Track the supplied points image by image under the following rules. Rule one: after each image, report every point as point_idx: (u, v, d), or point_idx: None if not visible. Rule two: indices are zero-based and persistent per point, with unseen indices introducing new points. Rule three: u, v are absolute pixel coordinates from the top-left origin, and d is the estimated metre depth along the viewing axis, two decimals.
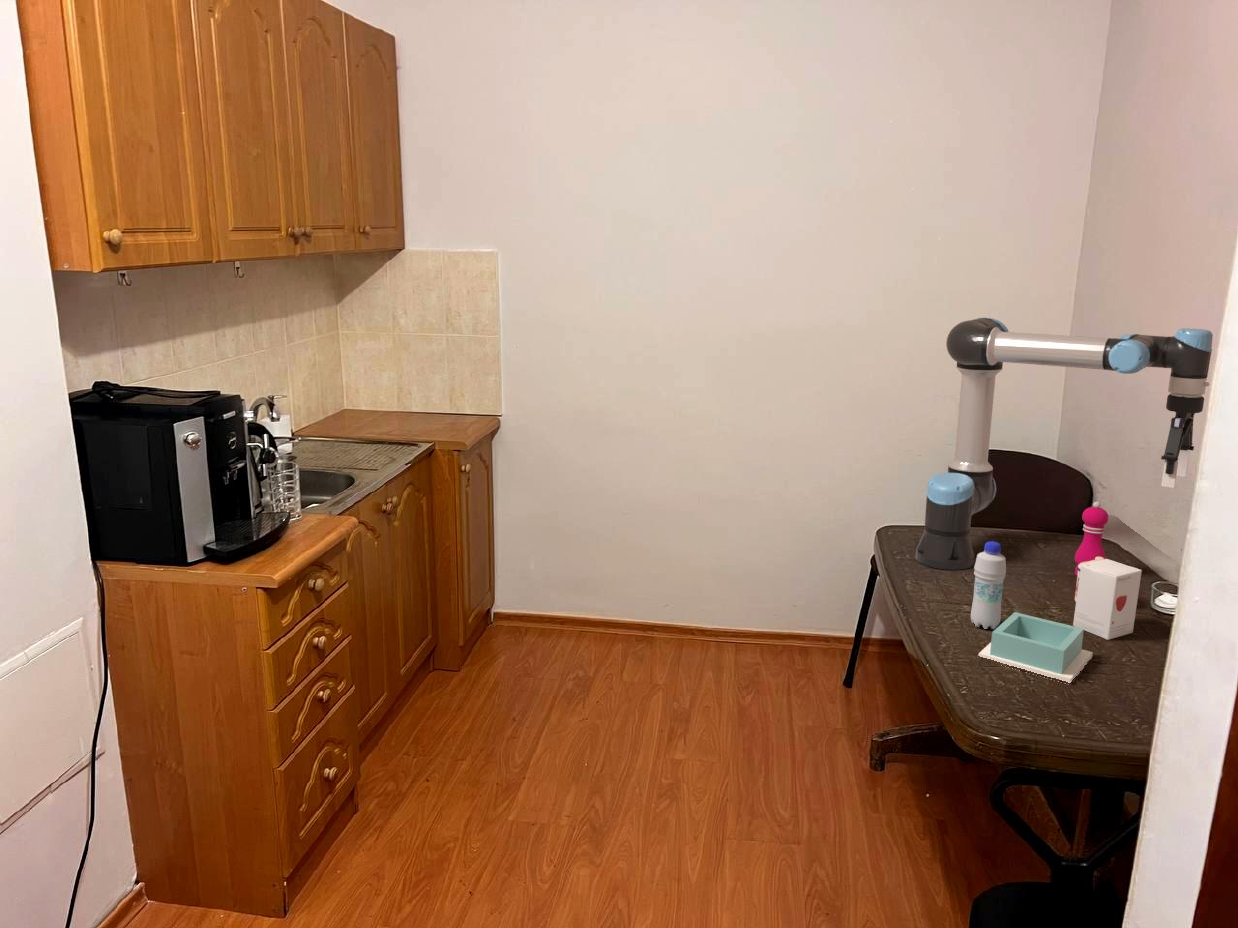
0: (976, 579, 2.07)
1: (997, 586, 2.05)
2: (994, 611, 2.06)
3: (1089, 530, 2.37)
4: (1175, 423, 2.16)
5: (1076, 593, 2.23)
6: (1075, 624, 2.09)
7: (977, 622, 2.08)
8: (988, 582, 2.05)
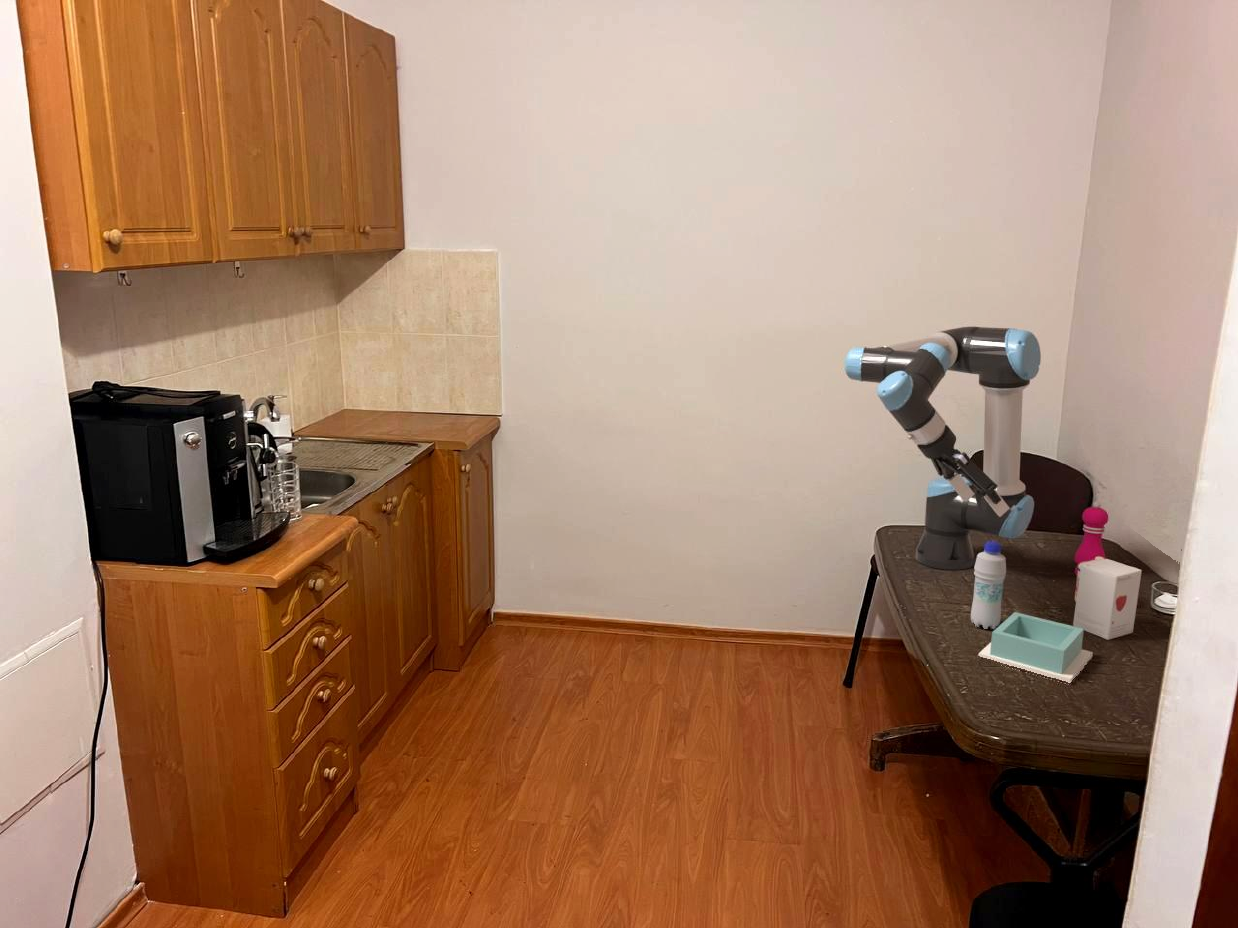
0: (976, 579, 2.07)
1: (997, 586, 2.05)
2: (994, 611, 2.06)
3: (1089, 530, 2.37)
4: None
5: (1076, 593, 2.23)
6: (1075, 624, 2.09)
7: (977, 622, 2.08)
8: (988, 582, 2.05)
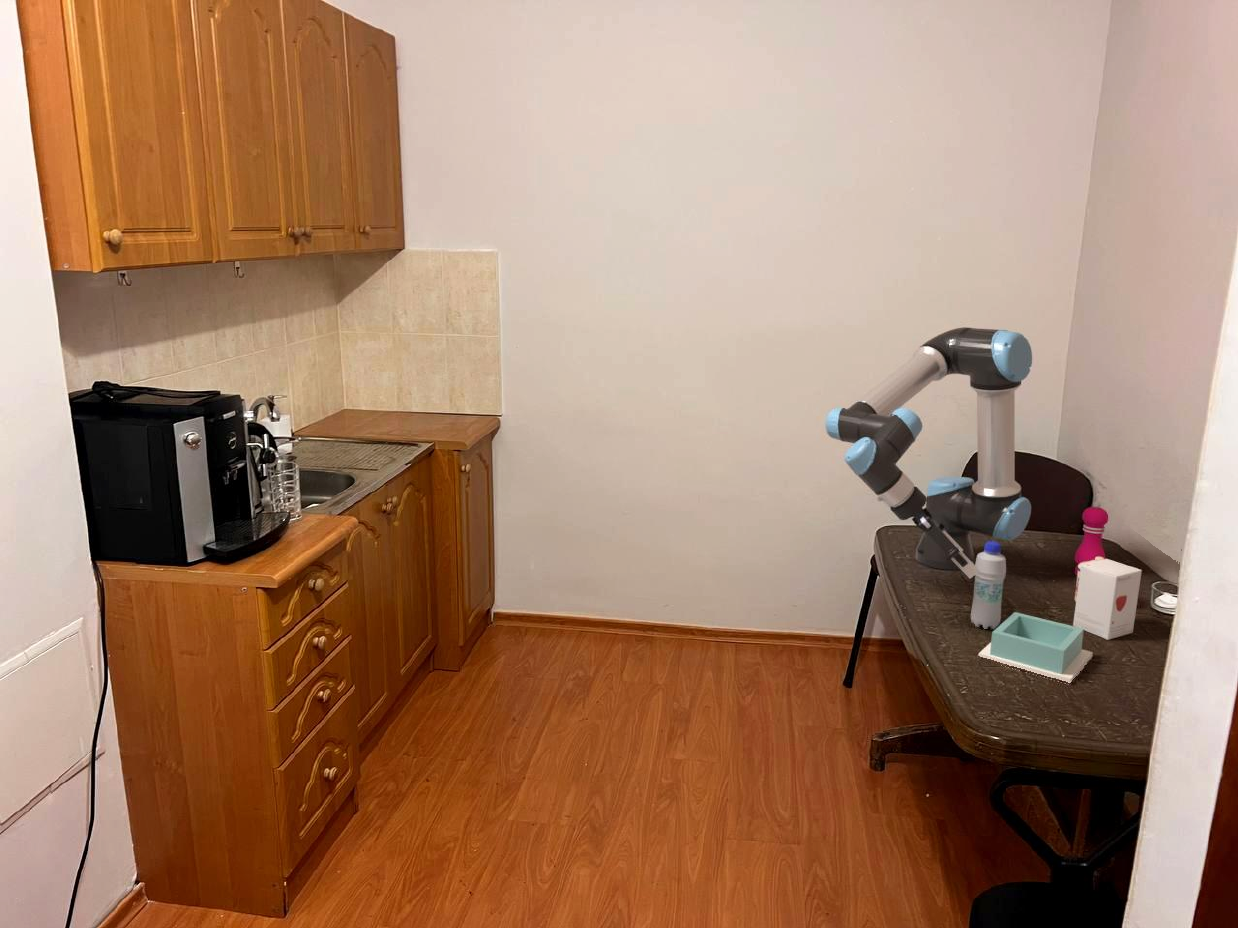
0: (976, 579, 2.07)
1: (997, 586, 2.05)
2: (994, 611, 2.06)
3: (1089, 530, 2.37)
4: None
5: (1076, 593, 2.23)
6: (1075, 624, 2.09)
7: (977, 622, 2.08)
8: (988, 582, 2.05)
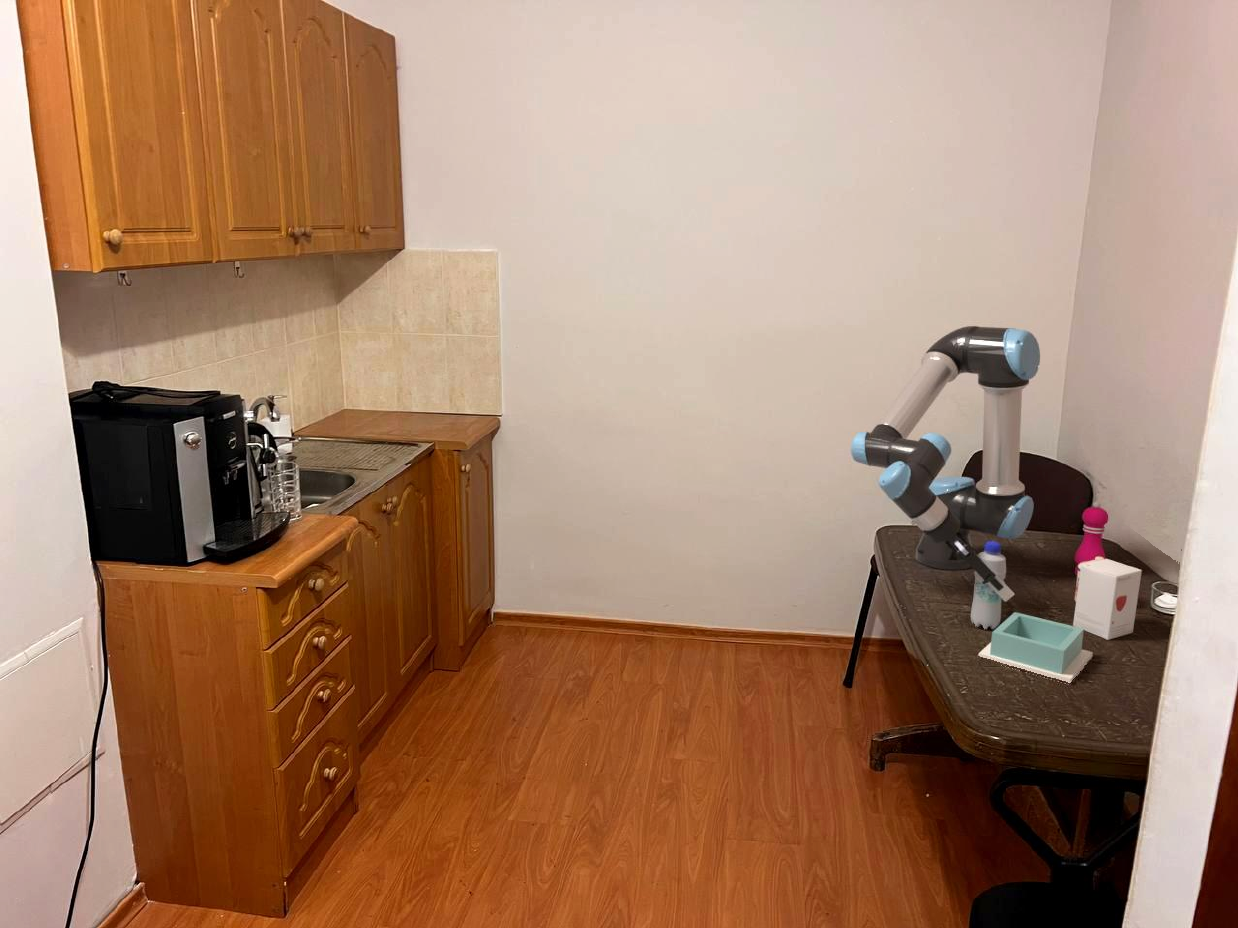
0: (976, 579, 2.07)
1: None
2: (994, 611, 2.06)
3: (1089, 530, 2.37)
4: None
5: (1076, 593, 2.23)
6: (1075, 624, 2.09)
7: (977, 622, 2.08)
8: None
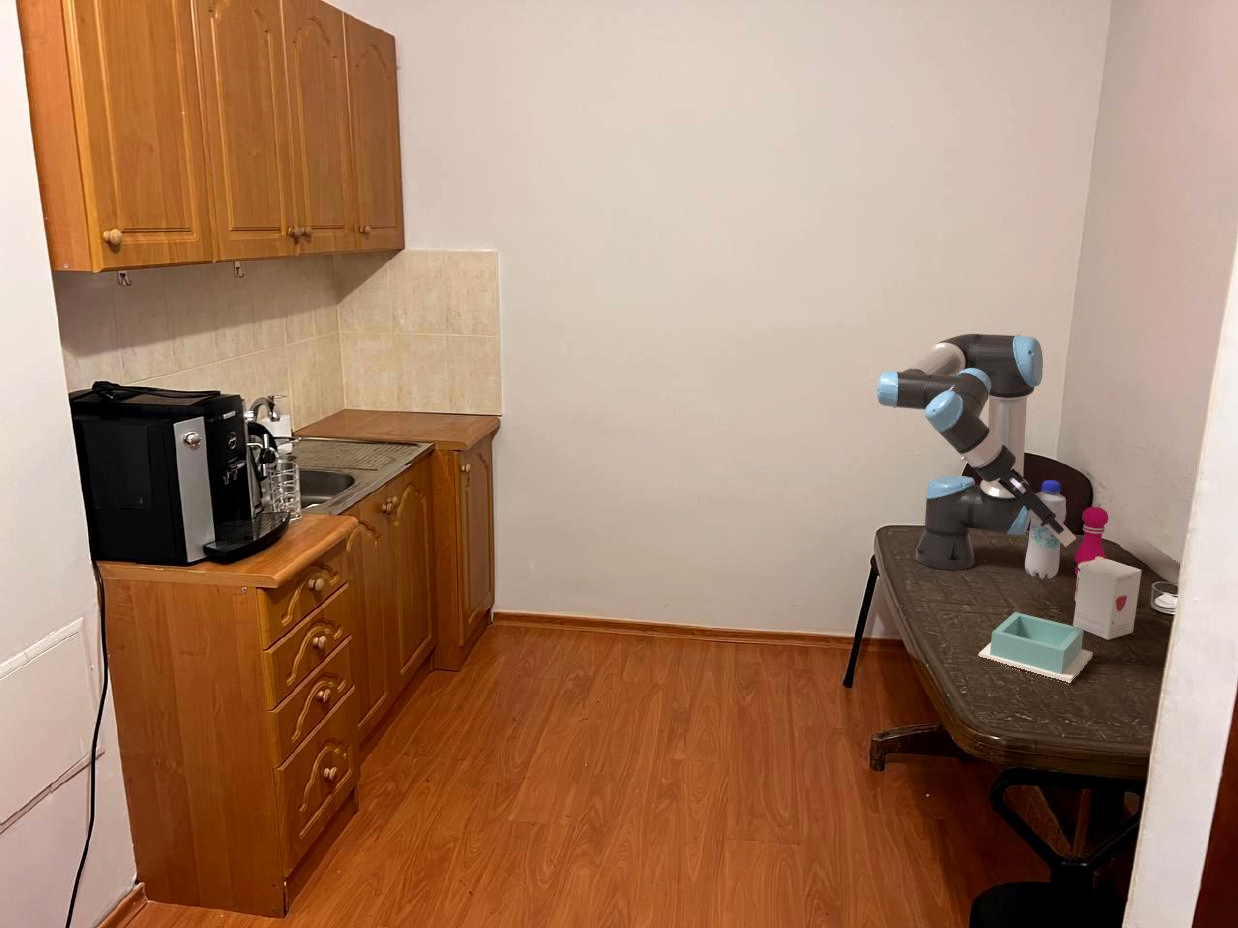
0: (1032, 522, 1.87)
1: None
2: (1052, 557, 1.86)
3: (1089, 530, 2.37)
4: None
5: (1076, 593, 2.23)
6: (1075, 624, 2.09)
7: (1033, 570, 1.88)
8: None
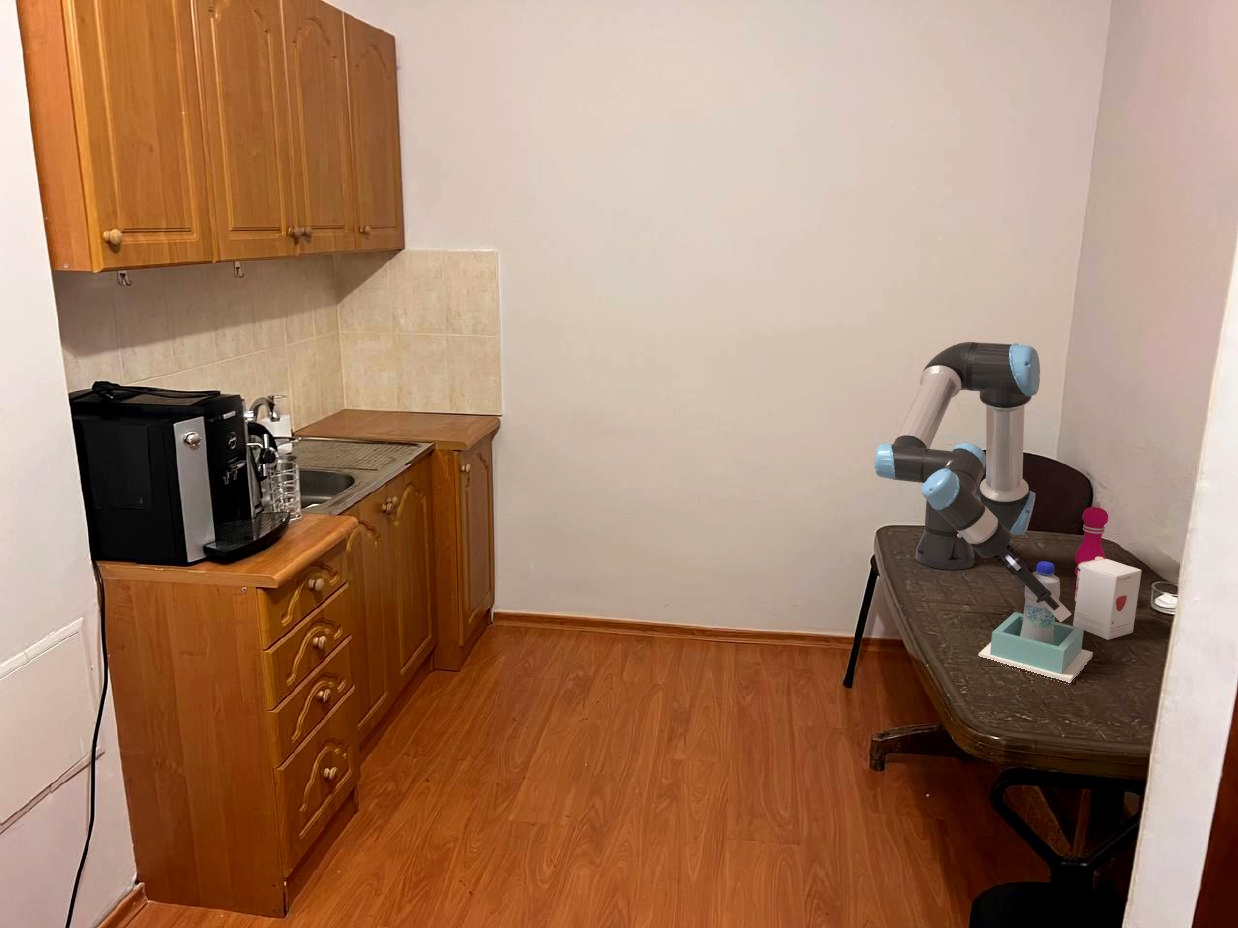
0: (1027, 602, 1.91)
1: None
2: (1046, 637, 1.90)
3: (1089, 530, 2.37)
4: None
5: (1076, 593, 2.23)
6: (1075, 624, 2.09)
7: None
8: (1040, 606, 1.88)
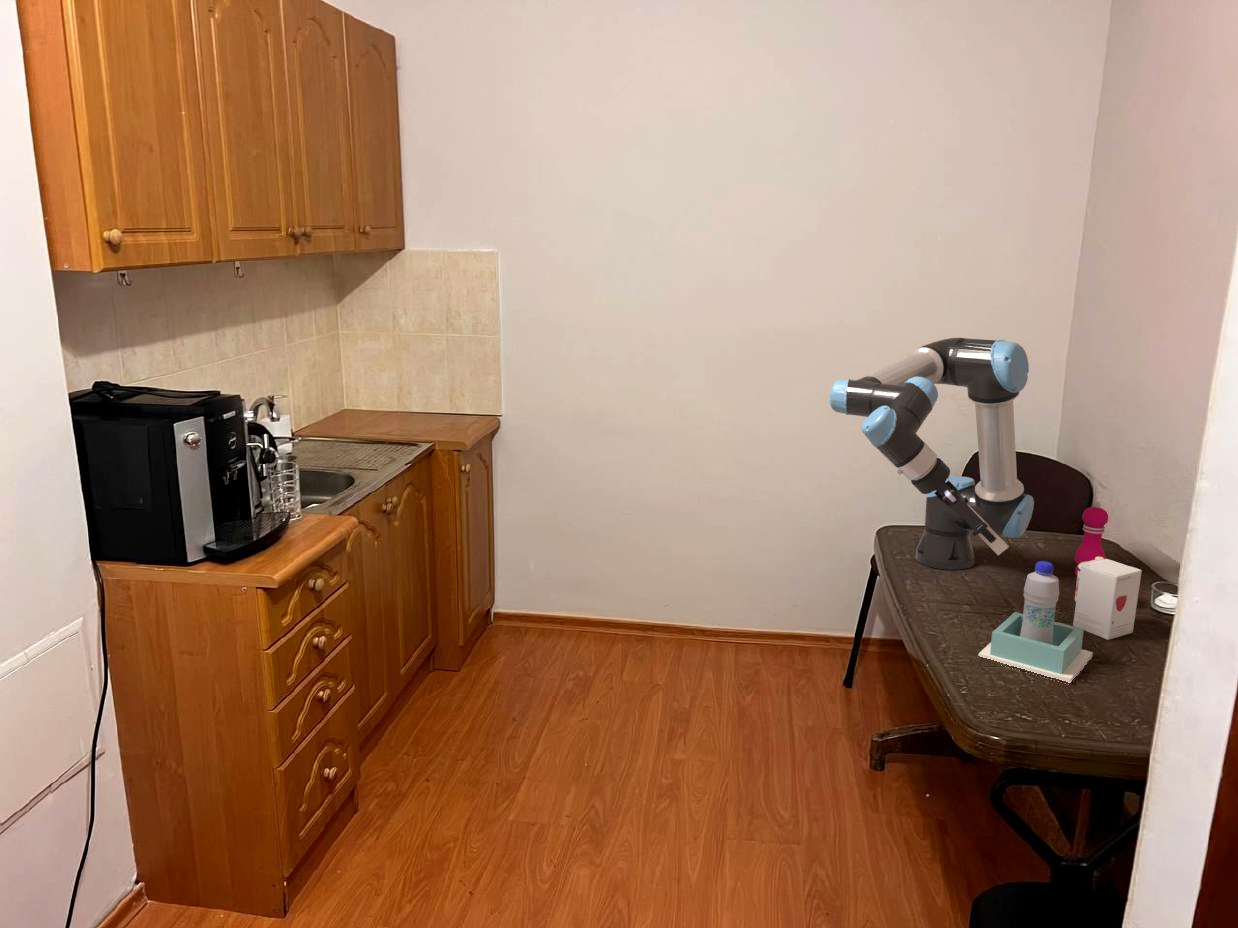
0: (1026, 602, 1.91)
1: (1050, 610, 1.88)
2: (1046, 636, 1.90)
3: (1089, 530, 2.37)
4: None
5: (1076, 593, 2.23)
6: (1075, 624, 2.09)
7: None
8: (1040, 606, 1.88)
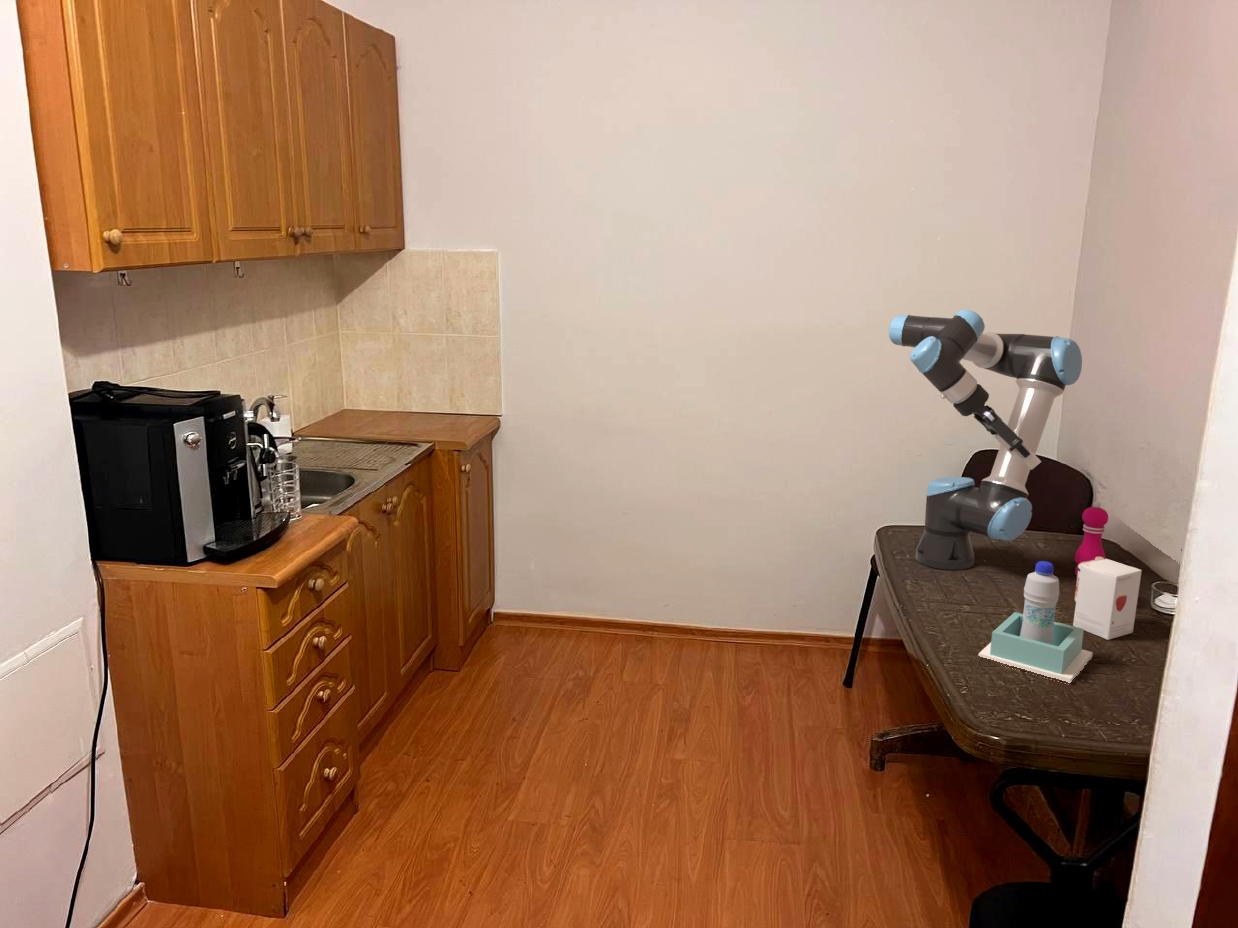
0: (1026, 602, 1.91)
1: (1050, 610, 1.88)
2: (1046, 636, 1.90)
3: (1089, 530, 2.37)
4: None
5: (1076, 593, 2.23)
6: (1075, 624, 2.09)
7: None
8: (1040, 606, 1.88)
